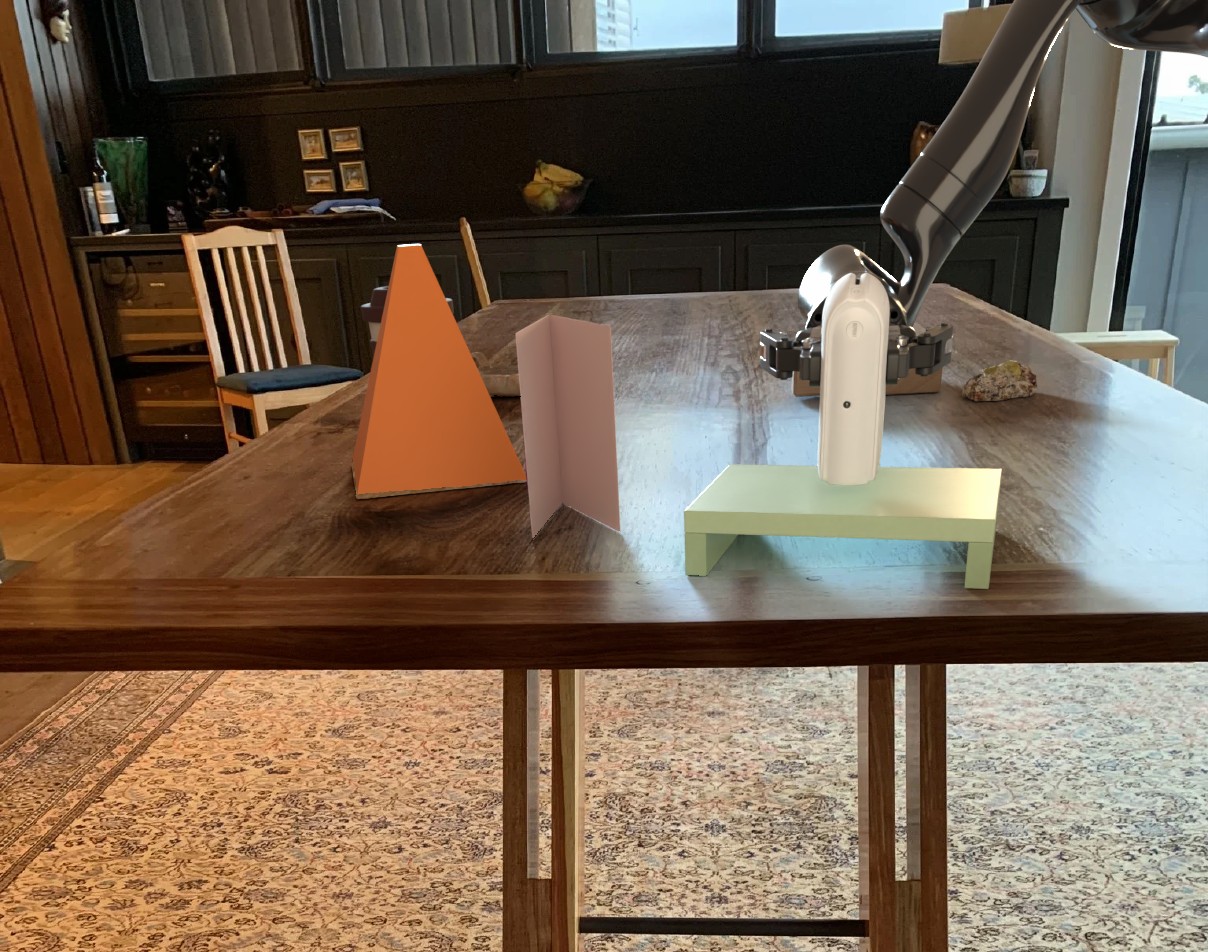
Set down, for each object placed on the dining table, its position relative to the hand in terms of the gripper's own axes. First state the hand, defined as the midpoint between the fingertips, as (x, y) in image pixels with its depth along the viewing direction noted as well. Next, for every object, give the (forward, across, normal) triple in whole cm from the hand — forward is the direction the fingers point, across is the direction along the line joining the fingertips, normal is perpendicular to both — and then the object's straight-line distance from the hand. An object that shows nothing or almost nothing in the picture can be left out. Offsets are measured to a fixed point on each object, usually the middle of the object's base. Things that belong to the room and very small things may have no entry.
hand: (853, 368), depth 77 cm
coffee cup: (-51, +48, -14) cm, 71 cm away
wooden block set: (-74, 0, -14) cm, 75 cm away
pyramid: (-29, +39, -13) cm, 50 cm away
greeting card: (-11, +21, -13) cm, 27 cm away
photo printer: (-3, 0, -7) cm, 8 cm away
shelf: (-2, 0, -13) cm, 13 cm away
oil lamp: (-72, +44, -14) cm, 86 cm away
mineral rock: (-65, -16, -14) cm, 68 cm away
